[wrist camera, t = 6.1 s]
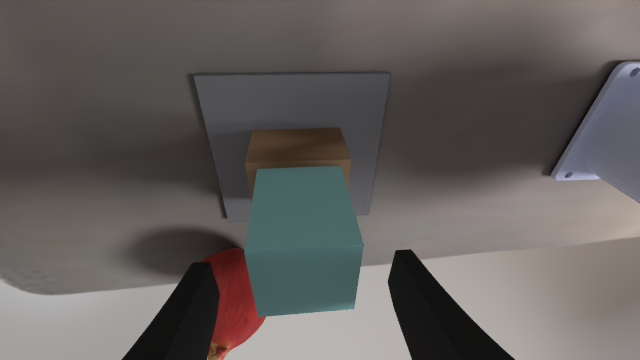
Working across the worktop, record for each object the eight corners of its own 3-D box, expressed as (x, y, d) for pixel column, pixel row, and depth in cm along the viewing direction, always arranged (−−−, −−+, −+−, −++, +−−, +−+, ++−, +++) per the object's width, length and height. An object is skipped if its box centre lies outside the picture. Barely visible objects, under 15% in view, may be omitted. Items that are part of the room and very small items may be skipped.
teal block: (337, 225, 16) (354, 308, 12) (265, 229, 16) (258, 316, 12) (341, 165, 14) (363, 244, 10) (257, 168, 13) (244, 252, 9)
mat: (388, 71, 15) (390, 73, 15) (367, 211, 21) (368, 215, 21) (195, 73, 14) (193, 75, 14) (229, 218, 20) (228, 222, 20)
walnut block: (340, 127, 16) (351, 159, 13) (335, 195, 19) (344, 232, 16) (252, 130, 16) (244, 163, 13) (261, 198, 19) (257, 238, 16)
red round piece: (279, 269, 24) (276, 377, 17) (211, 277, 24) (182, 390, 17) (267, 220, 21) (258, 331, 14) (187, 229, 20) (140, 347, 14)
